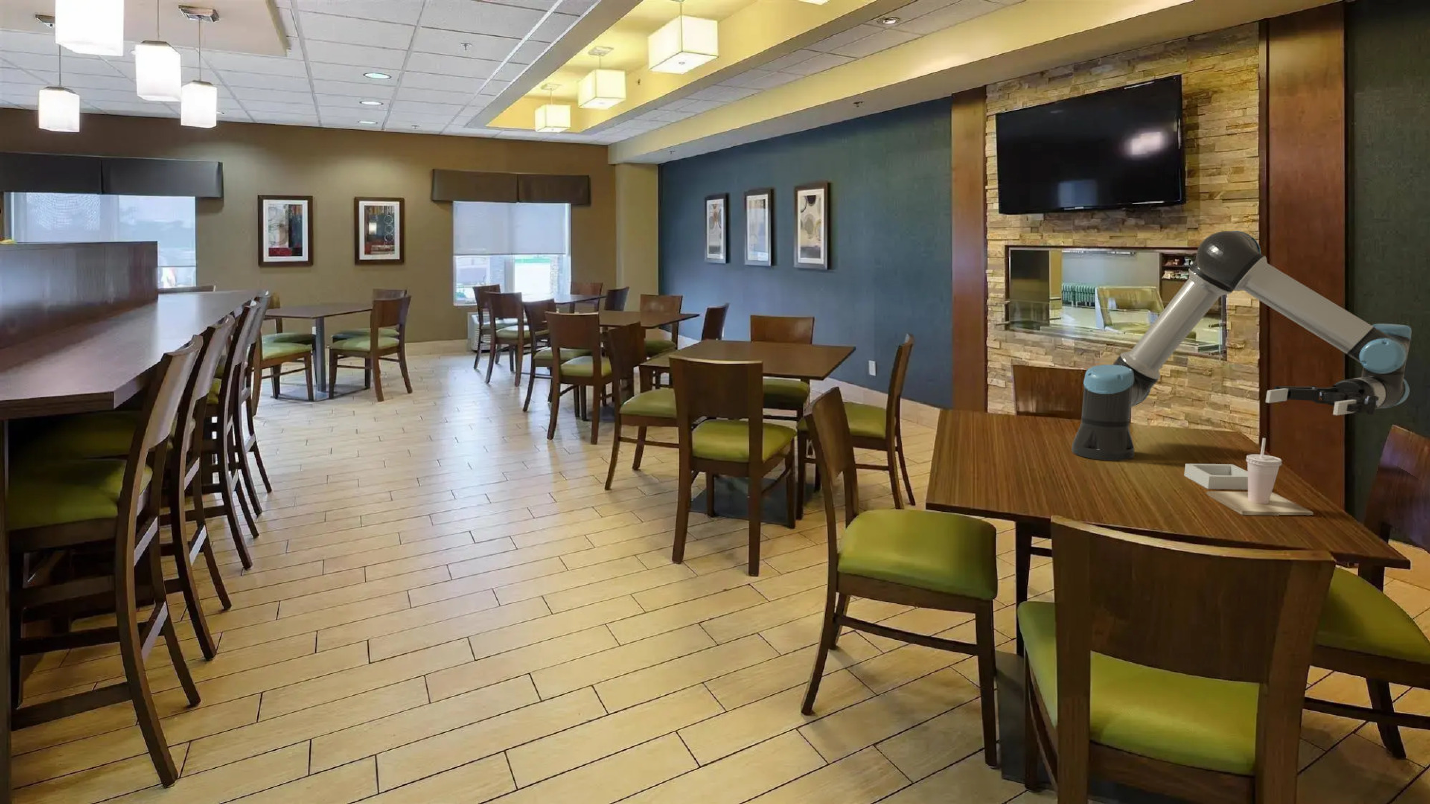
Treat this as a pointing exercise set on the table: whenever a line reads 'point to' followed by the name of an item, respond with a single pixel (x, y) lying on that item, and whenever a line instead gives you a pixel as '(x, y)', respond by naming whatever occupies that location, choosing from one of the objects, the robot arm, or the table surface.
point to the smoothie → (1261, 475)
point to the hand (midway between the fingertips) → (1300, 402)
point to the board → (1245, 507)
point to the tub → (1217, 476)
